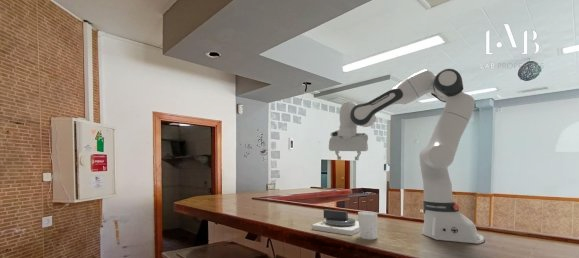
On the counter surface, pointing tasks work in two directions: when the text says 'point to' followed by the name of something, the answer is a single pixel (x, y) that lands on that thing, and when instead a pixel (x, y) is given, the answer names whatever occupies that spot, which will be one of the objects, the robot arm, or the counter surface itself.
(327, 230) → the dial panel
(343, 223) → the dial
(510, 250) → the counter surface
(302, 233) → the counter surface
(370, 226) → the white cup
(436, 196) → the robot arm
